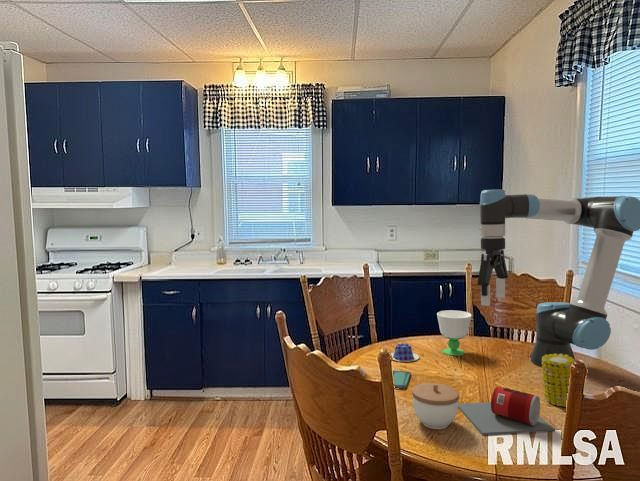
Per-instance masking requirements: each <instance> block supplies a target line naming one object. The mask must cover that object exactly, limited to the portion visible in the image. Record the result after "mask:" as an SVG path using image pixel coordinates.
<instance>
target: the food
mask: <svg viewBox="0 0 640 481" xmlns="http://www.w3.org/2000/svg"><path fill="white" fill-rule="evenodd" d="M574 362H575V363H577V362H576V359H575V360H574V359H573V358H572V357H569V355H566V354H565V355H563V354H553V355H552V354H549V355H545V356H543V357H542V366H541V369H542V380H543V382H542V383H543V389H544V399H545V400H546V402H548V403H551V405H552V406H555V405H556V406H557V407H564V408H566V400H567V393H568V386H569V378H570V366H571V364H572V363H574Z"/></svg>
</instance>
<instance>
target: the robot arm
mask: <svg viewBox="0 0 640 481" xmlns="http://www.w3.org/2000/svg"><path fill="white" fill-rule="evenodd" d="M479 197H480V201H479V209H480V226H479V230H480V236H481V238H480V249H481V250H485V253H481V257H480V260H481V261H480V267H479V272H478V278H477V286H480V306H484V307H490V306H491V285H490V281H491V278H492V274H493V270H494V271H495V274H496V277H497V278H496V279H495V282H496V283H495V287H496V288H495V289H496V290H495V297H496V299H497V298H499V299H505V298H506V279H509V276H508V270H507V269H508V268H507V265H506V259H505V251H504V250H505V249H506V238H505V236H506V219H511V218H512V219H513V218H516V219H527V220H529V219H531V220H532V219H533V220H546V221H557V222H558V221H559V222H561V221H562V222H565V223H566V224H568V225H577V226H582V227H587V228H591V229H593V231H594V233H595V235H596V237H595V240H594V243H593V247H592V250H591V253H590V256H589V258H588V259H589V260H588V262H587V266H586V270H585V272H584V275H583V278H582V281H581V285H580V288H579V291H578V294H577V297H576V300H574V301H573V302H571V303H570V302H562V301H561V302H559V301H557V302H556V301H555V302H554V301H551V302H549V301H547V302H540V303H539V304H538V305H537V306H536V314H535V315H536V322H535V324H536V325H535V326H536V332H535V334H536V335H535V337H536V338H535V343H534V345H533V347H532V350H531V354H530V362H531V363H533V364H534V365H537V366H539V367H542V357H543V356H545V355H549V354H552V355H553V354H563V355H565V354H566V355H569V357H572V358H573V359H574V360H575V361H576V358H575V355H574V351H573V349H572V346H571V344H572V345H574V346H576V347H577V348H581V349H586V350H590V351H591V350H598V349H599V348H600V347H601V348H602V347H603V346H604V345H605V344H606V343H607V342H608V340H609V338H610V337H611V333H612V328H611V327H610V326H611V324H610V323H609V321H608V320H607V317H608V312H607V311H606V309H605V306H606V303H607V299H608V297H609V293H610V290H611V287H612V284H613V280H614V278H615V274H616V271H617V267H618V265H619V262H620V258H621V255H622V251H623V249H624V246H625V243H626V242H627V241H630V240H632V238H633V235H634V232H636V231H639V230H640V199H639V198H637V197H634V196H631V195H630V196H629V195H628V196H626V195H618V196H617V195H616V196H613V195H612V196H610V195H609V196H591V197H584V198H579V197H578V198H575V197H574V198H573V197H571V198H568V199H565V200H561V199H550V198H538V196H536V195H535V194H531V193H530V194H529V193H524V194H506V191H505V190H504V189H503V188H502V189H483V190H482V191H481V193H480V196H479Z"/></svg>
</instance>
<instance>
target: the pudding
mask: <svg viewBox="0 0 640 481" xmlns="http://www.w3.org/2000/svg"><path fill="white" fill-rule="evenodd" d="M391 355H392V357H393V359H392V360H394V361H397V362H414V361H417V360H419V359H420V356H419V355H418V354H416V353H414V352H413V349H412V346H411V344H408V343H397V345H396V346H395V348H394V351H393V352H391Z"/></svg>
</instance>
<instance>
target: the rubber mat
mask: <svg viewBox="0 0 640 481" xmlns="http://www.w3.org/2000/svg"><path fill="white" fill-rule="evenodd" d="M458 410H459V411H460V412H461V413H462V414H463V415H464V416H465V418H466V419H467V420H468V421H469V422H470V423H471V424H472V425H473V426H474V427H475V428H476V430H477V431H478V432H479V433H480V434H481V435H482V436H490V435H491V436H492V435H509V434H510V435H511V434H526V433H542V432H543V433H544V432H545V433H546V432H555V431H556V429H555V427H553V426H552V425H551V424H550V423H549V422H547V421H546V420H545V419H543V418H542V417H541V416H540V415H539V418H538V421H537V423H536V425H534V426H533V425H529V424H525V423H522V422H518V421H515V420H512V419H508V418H505V417H501V416H498V415H495V414H494V413H493V412H492V410H491V401H489V402H488V401H485V402H466V403H458Z"/></svg>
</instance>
